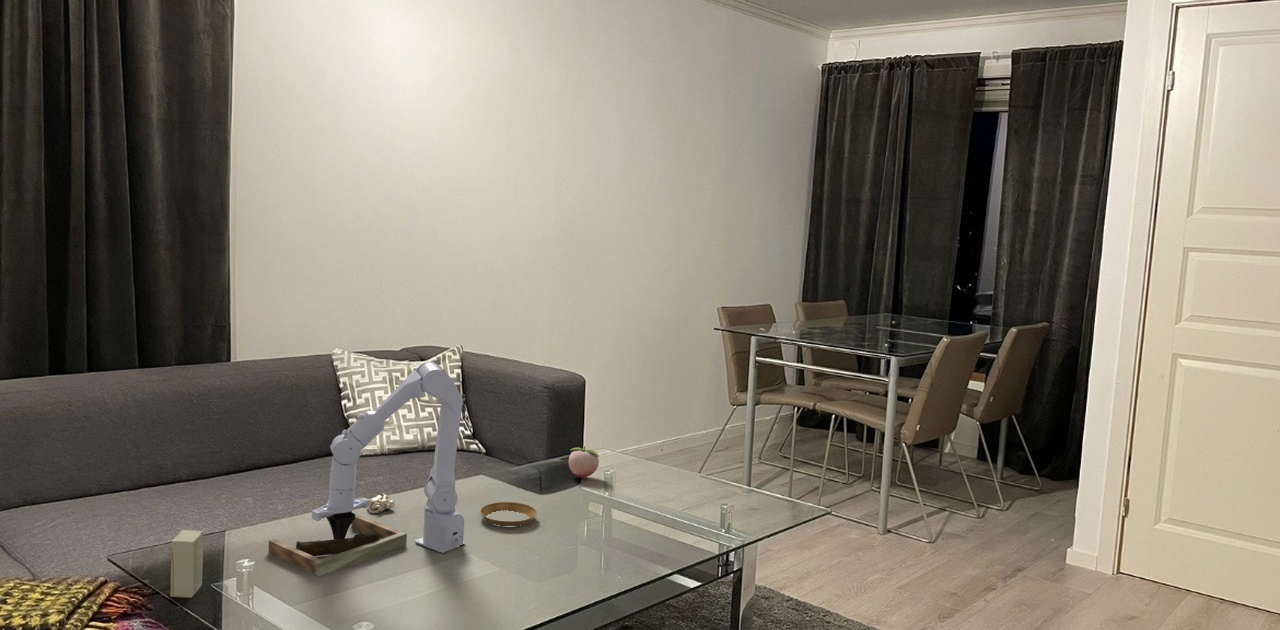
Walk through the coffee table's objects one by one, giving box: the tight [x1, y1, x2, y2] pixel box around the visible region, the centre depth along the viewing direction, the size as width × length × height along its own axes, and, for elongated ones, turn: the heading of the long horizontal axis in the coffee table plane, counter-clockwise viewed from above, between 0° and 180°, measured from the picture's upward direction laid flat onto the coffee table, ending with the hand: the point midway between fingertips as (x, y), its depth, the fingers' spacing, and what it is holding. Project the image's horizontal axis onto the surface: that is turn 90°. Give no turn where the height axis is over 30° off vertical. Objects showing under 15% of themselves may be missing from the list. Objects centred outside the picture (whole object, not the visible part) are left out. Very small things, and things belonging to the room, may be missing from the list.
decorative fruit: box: [568, 445, 600, 478], centre depth 296 cm, size 9×8×10 cm
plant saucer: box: [479, 501, 538, 527], centre depth 258 cm, size 15×15×3 cm
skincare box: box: [170, 529, 204, 599], centre depth 202 cm, size 6×4×12 cm
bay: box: [268, 513, 408, 577], centre depth 230 cm, size 18×25×3 cm
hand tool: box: [295, 532, 380, 557], centre depth 227 cm, size 19×4×5 cm, turn 113°
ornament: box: [368, 492, 395, 514], centre depth 258 cm, size 8×7×4 cm
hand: (338, 542), depth 230 cm, fingers closed
